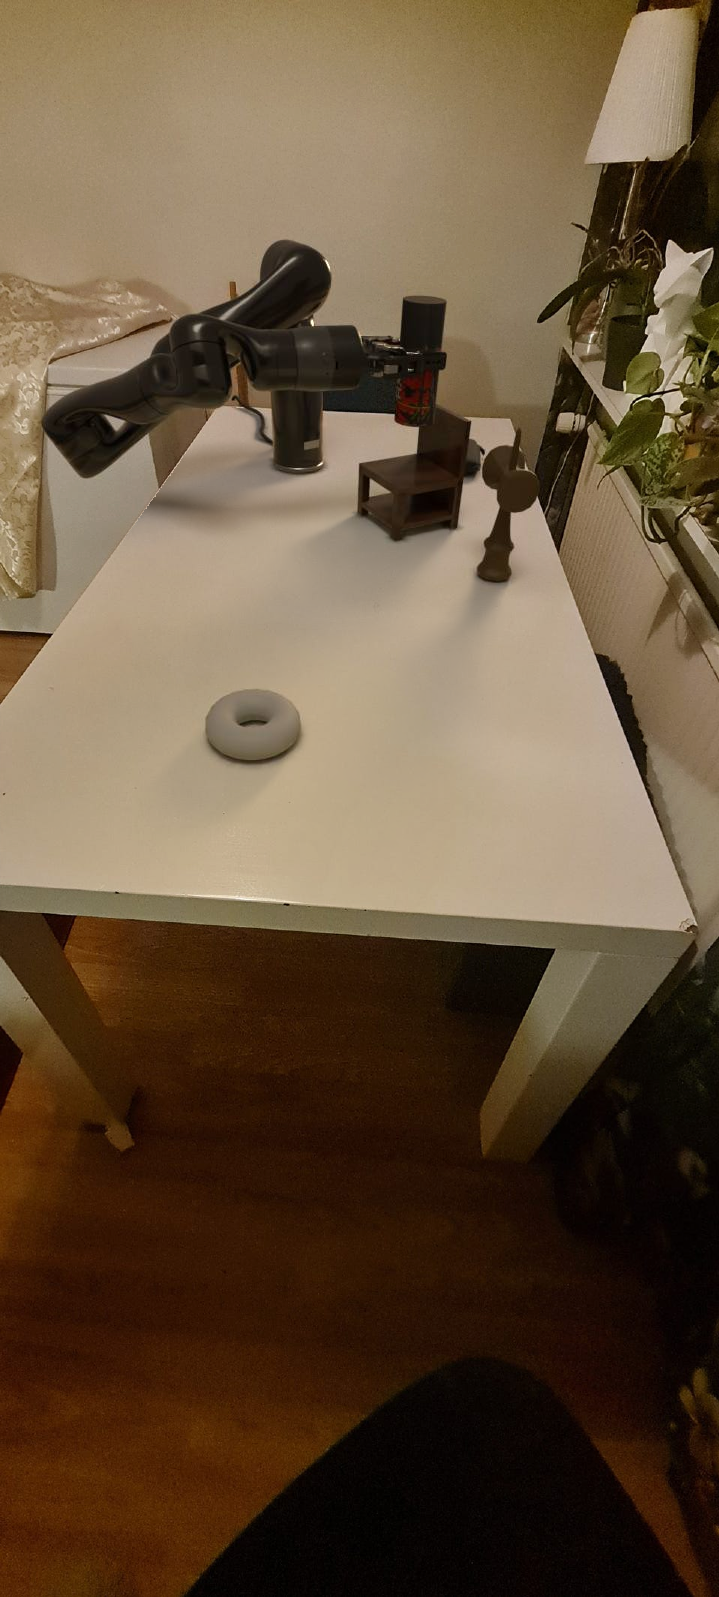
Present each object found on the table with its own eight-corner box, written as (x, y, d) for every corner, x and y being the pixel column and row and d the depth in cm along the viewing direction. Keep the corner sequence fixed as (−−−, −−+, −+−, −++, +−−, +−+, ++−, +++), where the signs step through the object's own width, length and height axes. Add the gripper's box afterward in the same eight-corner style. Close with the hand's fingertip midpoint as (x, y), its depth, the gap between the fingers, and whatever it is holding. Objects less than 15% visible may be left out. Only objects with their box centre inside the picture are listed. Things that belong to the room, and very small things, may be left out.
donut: (278, 777, 71) (315, 719, 77) (276, 751, 68) (315, 693, 75) (189, 754, 73) (232, 698, 80) (184, 728, 70) (229, 673, 77)
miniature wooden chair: (357, 513, 118) (360, 407, 107) (417, 501, 123) (426, 398, 111) (395, 541, 111) (403, 431, 100) (457, 527, 115) (471, 420, 104)
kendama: (506, 560, 107) (533, 416, 93) (521, 591, 100) (553, 440, 86) (467, 560, 107) (488, 415, 93) (479, 591, 100) (505, 439, 86)
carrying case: (485, 480, 131) (483, 453, 141) (487, 462, 129) (485, 436, 139) (427, 475, 131) (430, 449, 142) (429, 458, 129) (431, 432, 140)
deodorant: (386, 418, 106) (393, 297, 95) (415, 412, 109) (425, 293, 98) (412, 429, 103) (423, 304, 92) (442, 422, 105) (455, 301, 95)
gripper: (308, 376, 103) (413, 371, 108) (338, 404, 94) (453, 398, 98) (307, 314, 98) (418, 312, 103) (340, 338, 88) (461, 334, 93)
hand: (435, 354), depth 100 cm, fingers closed on deodorant, 6 cm apart
